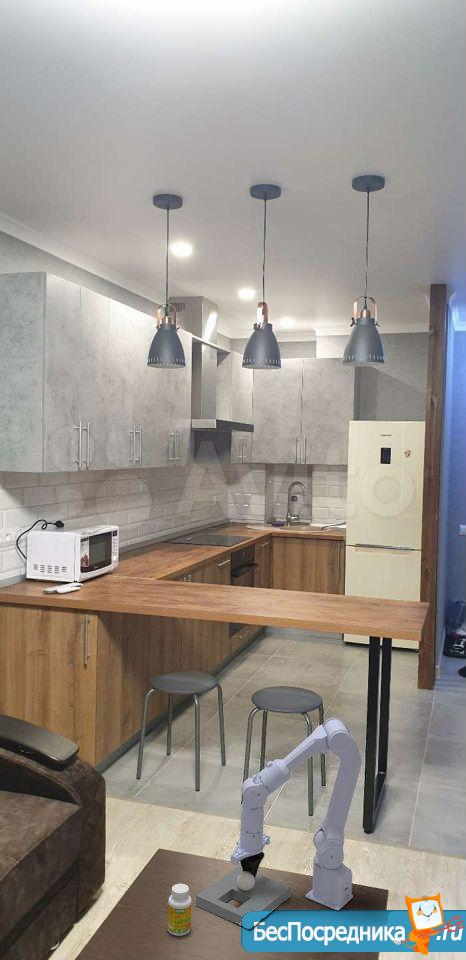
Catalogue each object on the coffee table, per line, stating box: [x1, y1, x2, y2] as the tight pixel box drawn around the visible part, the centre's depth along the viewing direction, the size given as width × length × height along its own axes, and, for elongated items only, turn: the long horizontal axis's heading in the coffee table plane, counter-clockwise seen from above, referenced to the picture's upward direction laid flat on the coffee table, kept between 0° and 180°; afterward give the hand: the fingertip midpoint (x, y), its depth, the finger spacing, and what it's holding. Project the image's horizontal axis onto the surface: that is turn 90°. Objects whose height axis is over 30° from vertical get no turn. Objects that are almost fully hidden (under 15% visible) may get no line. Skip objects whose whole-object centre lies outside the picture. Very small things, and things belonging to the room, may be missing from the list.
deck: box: [195, 865, 291, 923], centre depth 192 cm, size 16×18×2 cm
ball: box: [237, 871, 255, 891], centre depth 193 cm, size 4×4×4 cm
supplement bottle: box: [167, 883, 192, 937], centre depth 180 cm, size 5×5×10 cm
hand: (249, 881), depth 195 cm, fingers closed, pressing on ball
